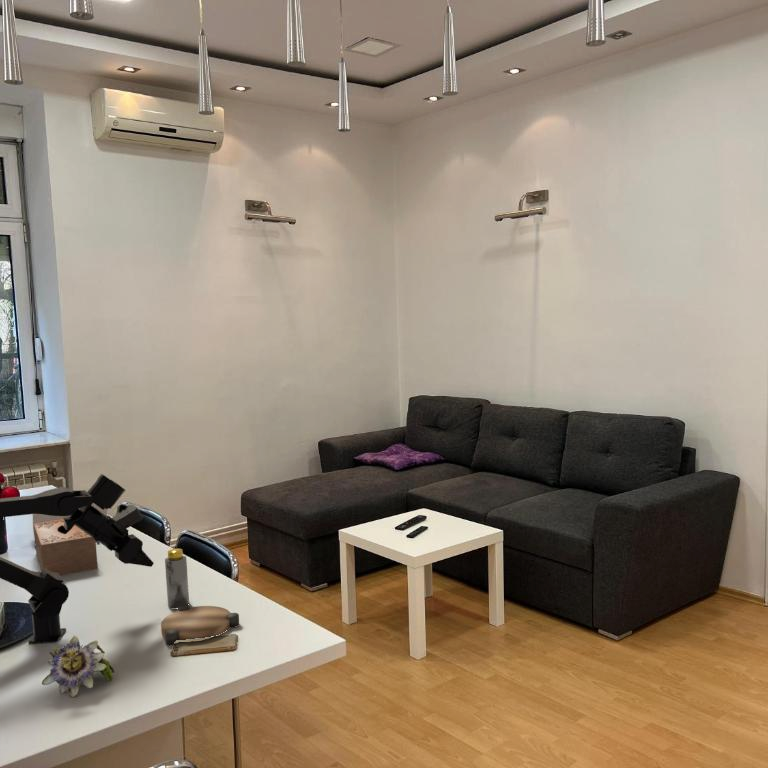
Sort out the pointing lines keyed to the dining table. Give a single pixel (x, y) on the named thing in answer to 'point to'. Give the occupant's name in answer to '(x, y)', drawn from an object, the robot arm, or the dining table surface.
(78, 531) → the tissue box cover
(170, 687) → the dining table surface
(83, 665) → the passion flower
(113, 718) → the dining table surface
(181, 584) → the gold-capped silver cylinder
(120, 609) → the dining table surface
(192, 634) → the base plate
